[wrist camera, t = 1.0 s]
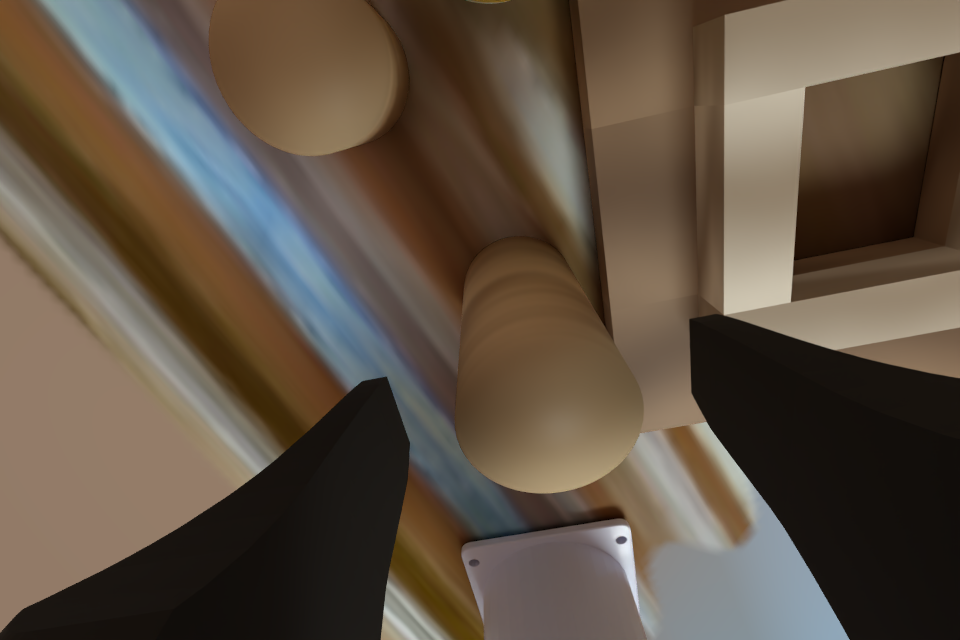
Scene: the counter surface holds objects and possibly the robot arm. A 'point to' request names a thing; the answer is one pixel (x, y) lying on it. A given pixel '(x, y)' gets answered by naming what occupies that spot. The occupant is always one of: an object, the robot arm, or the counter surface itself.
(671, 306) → the collar board
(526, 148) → the counter surface
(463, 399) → the long oak dowel
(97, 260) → the counter surface
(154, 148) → the counter surface
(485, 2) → the supplement bottle
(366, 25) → the short oak dowel
